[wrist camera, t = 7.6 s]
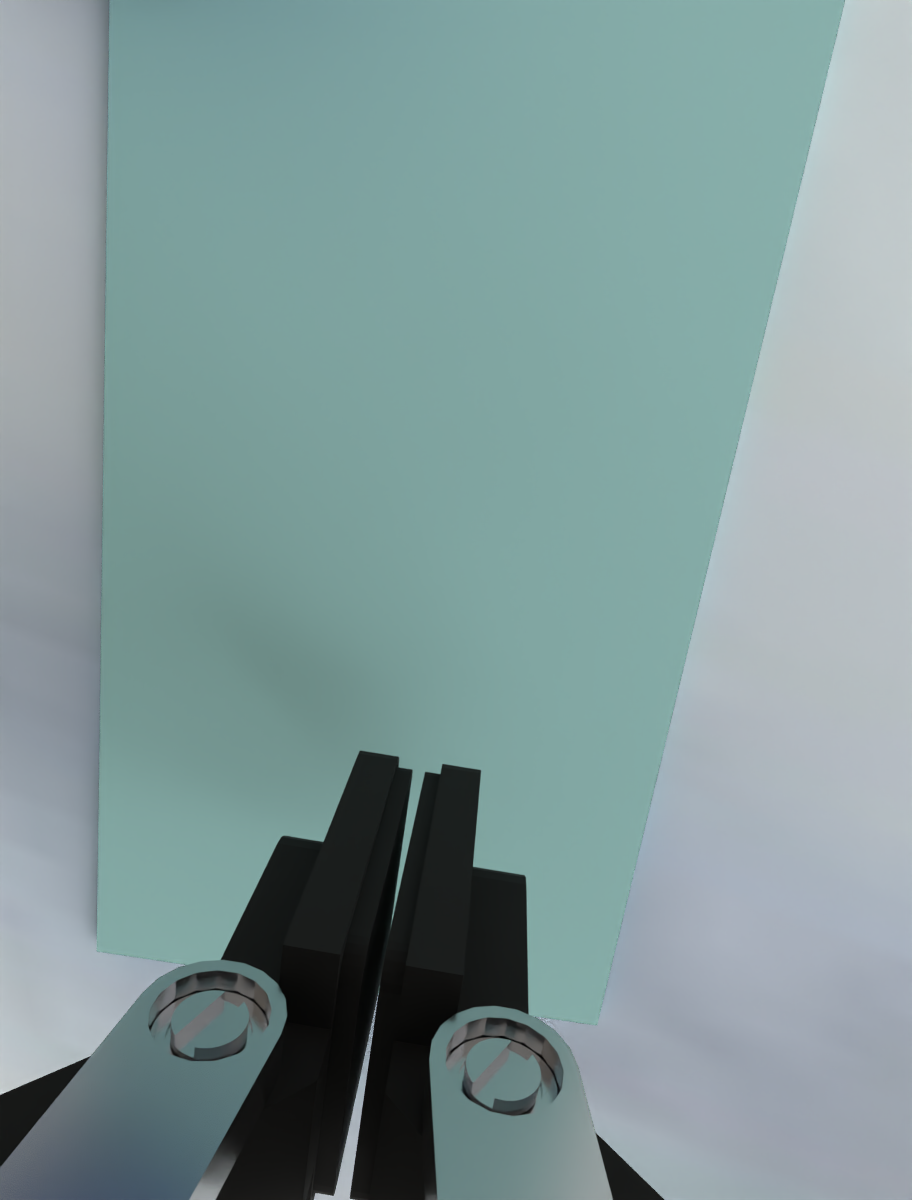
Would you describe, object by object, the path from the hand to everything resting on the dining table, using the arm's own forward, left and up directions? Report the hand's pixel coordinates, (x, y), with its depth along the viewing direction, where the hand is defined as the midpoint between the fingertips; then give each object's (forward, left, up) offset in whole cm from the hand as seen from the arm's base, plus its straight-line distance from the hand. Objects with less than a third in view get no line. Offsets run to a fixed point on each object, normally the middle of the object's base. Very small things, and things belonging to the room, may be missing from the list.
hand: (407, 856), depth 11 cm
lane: (+1, -10, -3) cm, 11 cm away
